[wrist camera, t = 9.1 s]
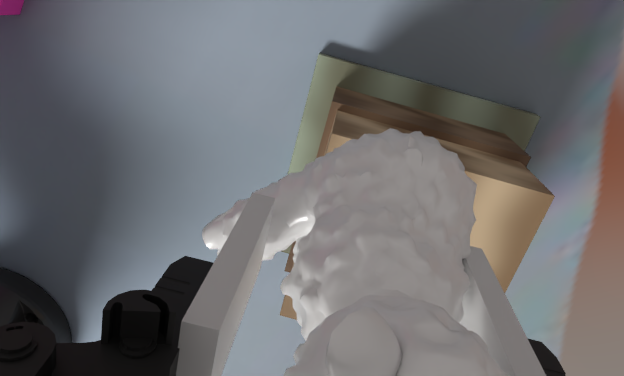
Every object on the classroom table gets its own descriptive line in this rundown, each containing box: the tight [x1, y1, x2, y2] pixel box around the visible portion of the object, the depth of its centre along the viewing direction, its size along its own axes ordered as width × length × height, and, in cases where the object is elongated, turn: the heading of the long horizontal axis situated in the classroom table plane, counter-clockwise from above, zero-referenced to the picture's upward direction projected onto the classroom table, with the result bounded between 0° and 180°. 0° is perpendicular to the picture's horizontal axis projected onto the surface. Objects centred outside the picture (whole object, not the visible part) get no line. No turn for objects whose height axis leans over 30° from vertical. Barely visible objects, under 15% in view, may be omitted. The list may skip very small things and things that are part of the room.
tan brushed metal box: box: [280, 53, 555, 320], centre depth 34 cm, size 18×18×13 cm
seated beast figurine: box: [202, 128, 510, 376], centre depth 12 cm, size 10×9×12 cm
